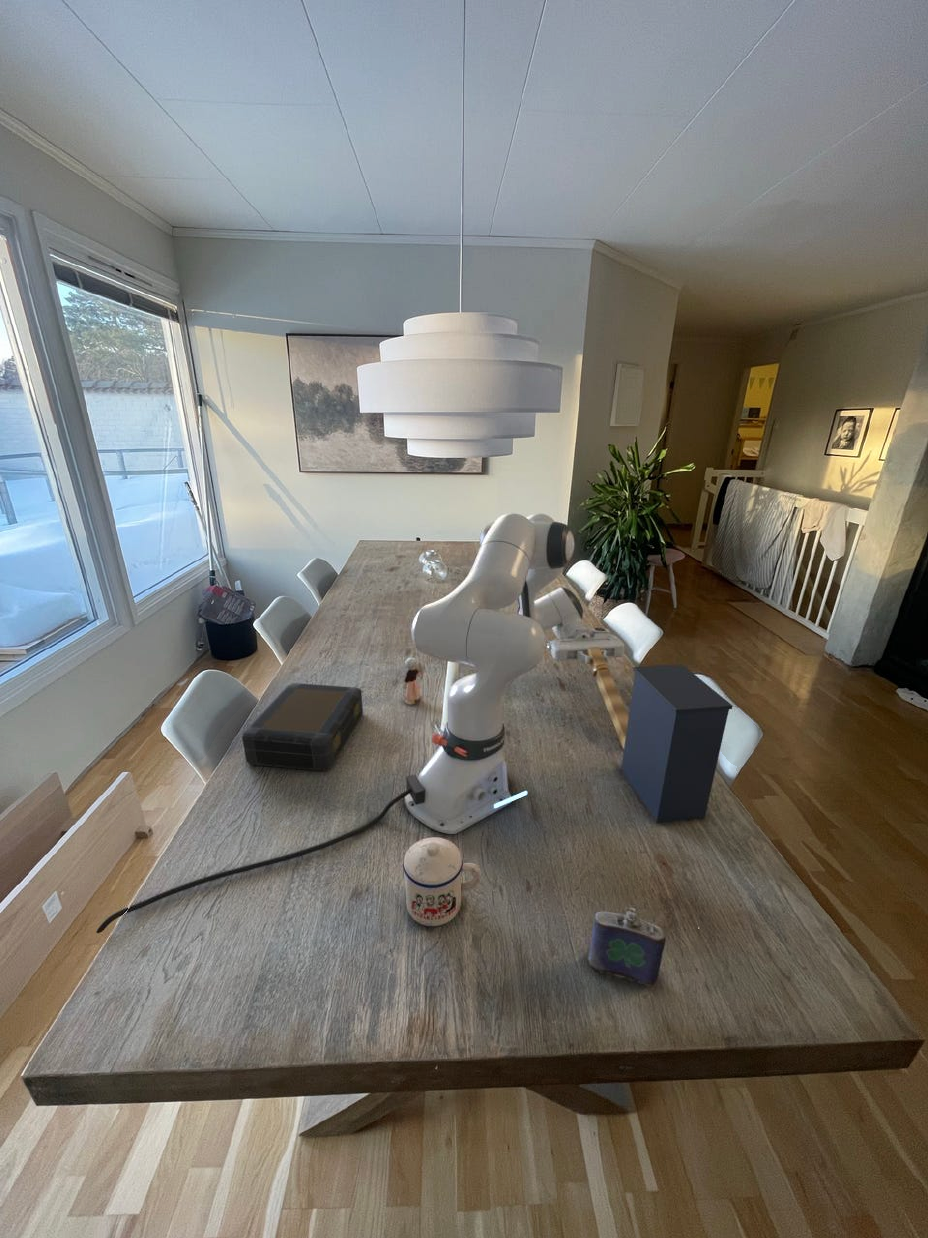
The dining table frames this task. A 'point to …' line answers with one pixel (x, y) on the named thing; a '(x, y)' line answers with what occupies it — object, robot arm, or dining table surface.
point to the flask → (626, 946)
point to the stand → (673, 741)
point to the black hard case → (304, 727)
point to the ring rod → (609, 692)
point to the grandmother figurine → (411, 681)
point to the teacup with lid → (435, 880)
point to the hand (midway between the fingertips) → (597, 660)
